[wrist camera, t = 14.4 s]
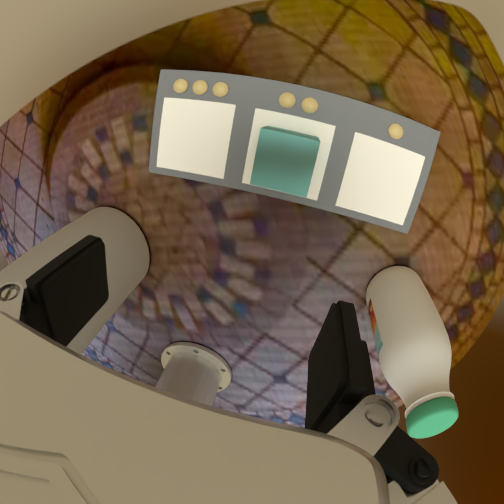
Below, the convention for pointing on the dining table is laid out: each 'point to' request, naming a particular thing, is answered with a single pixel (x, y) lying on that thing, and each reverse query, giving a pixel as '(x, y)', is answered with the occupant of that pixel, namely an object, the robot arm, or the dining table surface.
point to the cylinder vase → (117, 261)
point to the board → (299, 120)
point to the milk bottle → (412, 349)
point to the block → (284, 160)
